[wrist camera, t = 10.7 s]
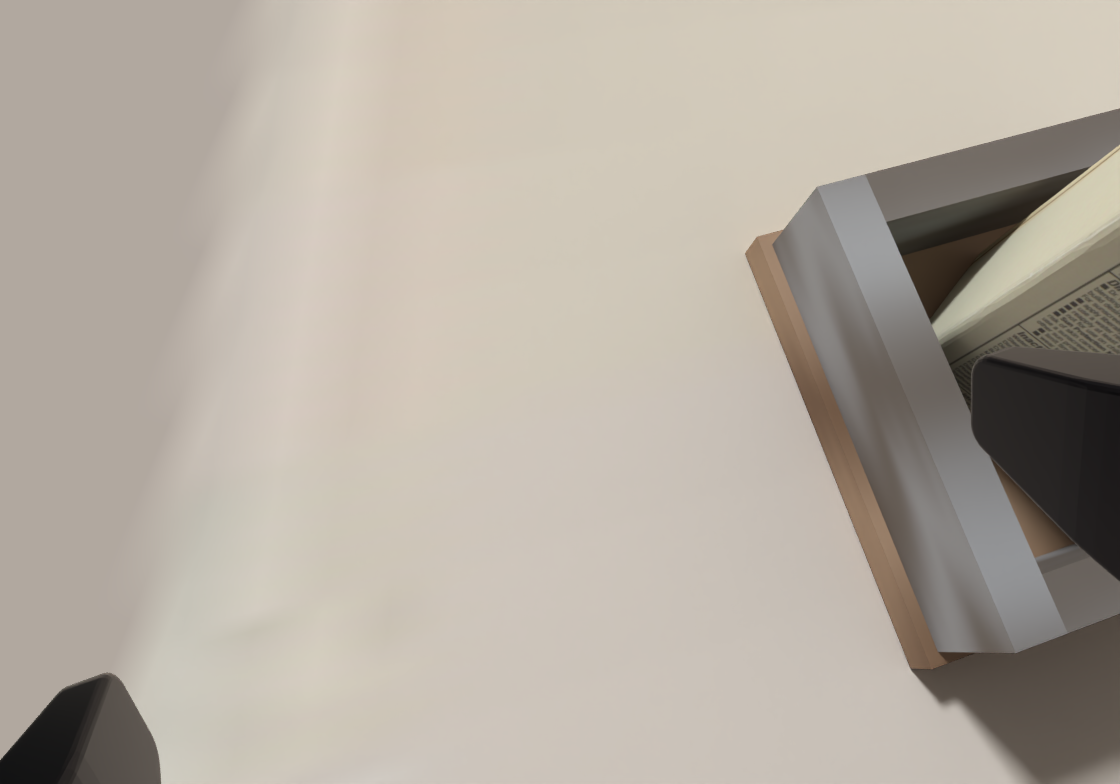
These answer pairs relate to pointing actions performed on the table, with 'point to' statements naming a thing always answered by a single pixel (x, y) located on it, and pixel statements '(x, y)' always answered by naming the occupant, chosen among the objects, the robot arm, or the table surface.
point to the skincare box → (1043, 280)
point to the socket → (929, 391)
